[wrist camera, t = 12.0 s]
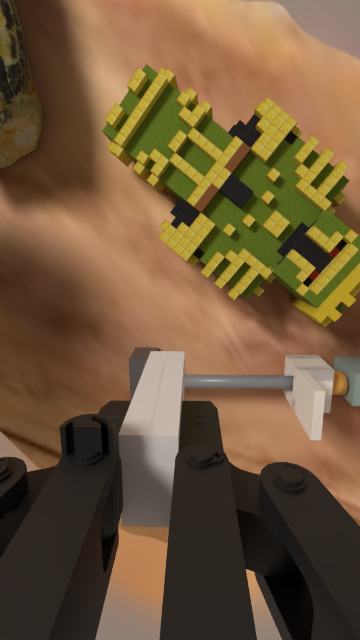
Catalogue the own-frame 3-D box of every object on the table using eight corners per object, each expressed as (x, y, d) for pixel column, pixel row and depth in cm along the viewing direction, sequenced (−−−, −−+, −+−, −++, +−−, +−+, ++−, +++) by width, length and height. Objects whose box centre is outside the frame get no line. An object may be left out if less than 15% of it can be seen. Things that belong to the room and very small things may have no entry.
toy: (172, -5, 29) (433, 219, 30) (183, 64, 39) (378, 229, 40) (64, 162, 32) (301, 357, 33) (100, 185, 42) (281, 334, 43)
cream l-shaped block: (283, 392, 43) (310, 440, 33) (285, 354, 42) (314, 391, 32) (314, 393, 43) (352, 440, 33) (317, 354, 42) (357, 391, 32)
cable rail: (137, 389, 46) (128, 410, 40) (135, 347, 44) (126, 363, 39) (354, 391, 44) (377, 414, 38) (359, 348, 43) (384, 365, 37)
